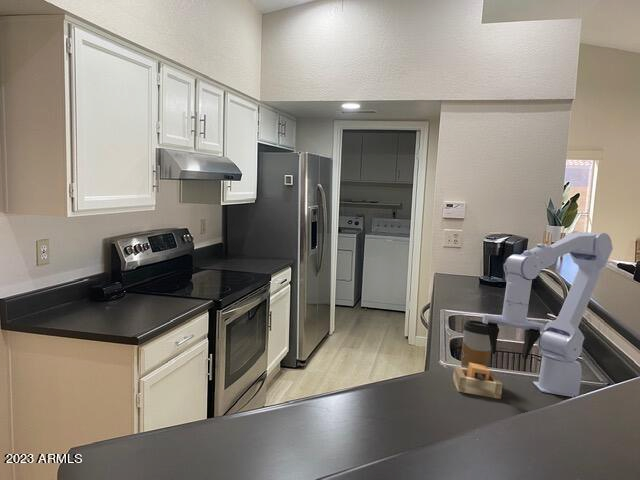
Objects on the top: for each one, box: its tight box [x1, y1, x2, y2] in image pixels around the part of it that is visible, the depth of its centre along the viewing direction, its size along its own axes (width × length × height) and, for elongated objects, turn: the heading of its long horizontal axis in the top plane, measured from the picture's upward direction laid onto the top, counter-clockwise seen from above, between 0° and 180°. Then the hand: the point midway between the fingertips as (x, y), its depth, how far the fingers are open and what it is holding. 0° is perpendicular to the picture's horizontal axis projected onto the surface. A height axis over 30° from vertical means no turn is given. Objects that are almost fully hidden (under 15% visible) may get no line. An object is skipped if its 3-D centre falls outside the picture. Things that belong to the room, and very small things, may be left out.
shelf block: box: [452, 366, 504, 399], centre depth 119 cm, size 10×10×5 cm
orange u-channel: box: [467, 362, 491, 380], centre depth 119 cm, size 4×5×5 cm
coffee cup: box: [460, 319, 492, 368], centre depth 129 cm, size 8×8×15 cm
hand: (508, 355), depth 119 cm, fingers open, 7 cm apart
